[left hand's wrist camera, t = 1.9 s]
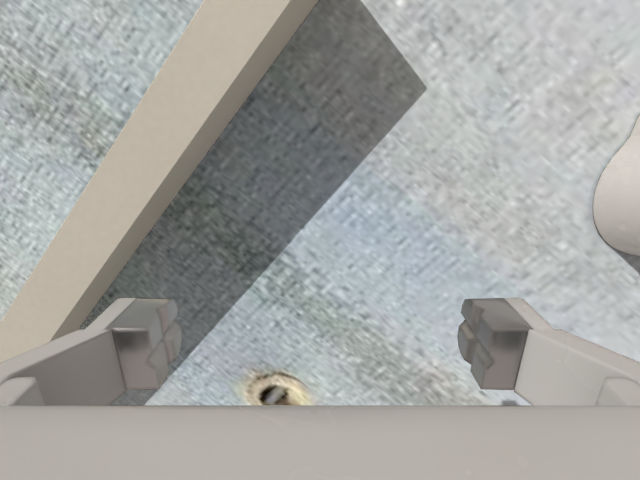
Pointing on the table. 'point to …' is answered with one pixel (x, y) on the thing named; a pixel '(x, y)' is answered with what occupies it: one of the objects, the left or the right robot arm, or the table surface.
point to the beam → (150, 162)
